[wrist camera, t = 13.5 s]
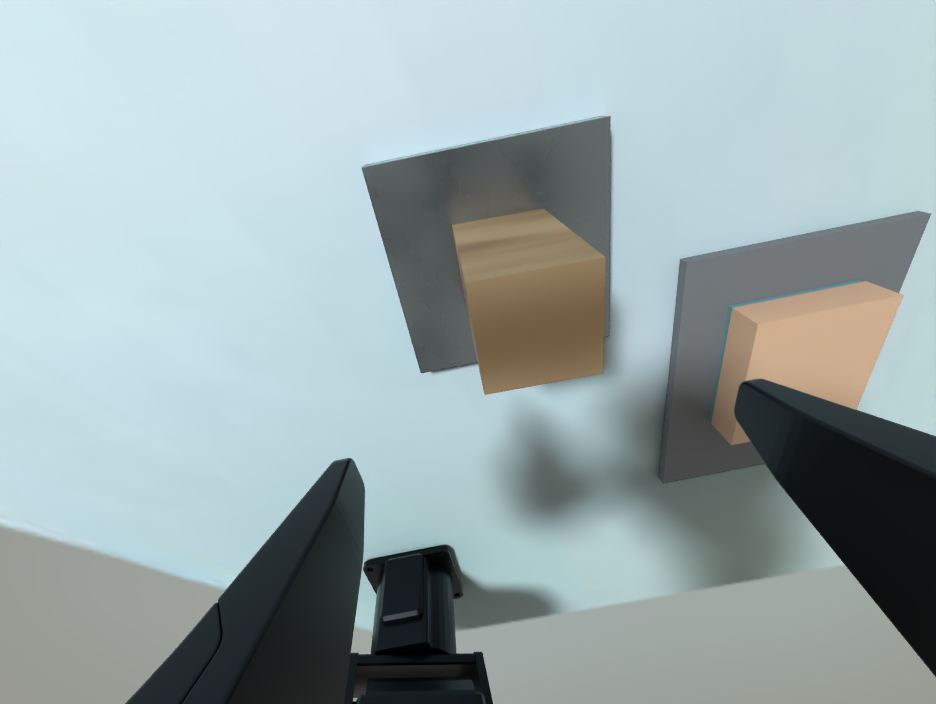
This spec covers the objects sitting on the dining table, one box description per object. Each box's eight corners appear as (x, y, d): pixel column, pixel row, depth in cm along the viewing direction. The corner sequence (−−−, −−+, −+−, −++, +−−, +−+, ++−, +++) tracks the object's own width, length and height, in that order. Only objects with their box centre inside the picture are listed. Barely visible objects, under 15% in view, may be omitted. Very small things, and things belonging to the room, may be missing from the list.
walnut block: (548, 293, 19) (603, 373, 13) (466, 308, 19) (484, 394, 13) (543, 208, 17) (605, 256, 11) (451, 224, 17) (465, 282, 11)
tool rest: (602, 327, 22) (609, 335, 21) (421, 363, 22) (420, 373, 21) (600, 116, 17) (610, 116, 16) (364, 165, 17) (361, 167, 16)
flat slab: (851, 421, 23) (904, 295, 19) (731, 445, 23) (758, 324, 19) (819, 398, 25) (860, 279, 21) (708, 420, 25) (728, 305, 21)
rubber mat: (827, 443, 28) (834, 449, 28) (658, 476, 28) (662, 483, 28) (918, 211, 20) (931, 213, 19) (680, 259, 20) (686, 263, 20)
